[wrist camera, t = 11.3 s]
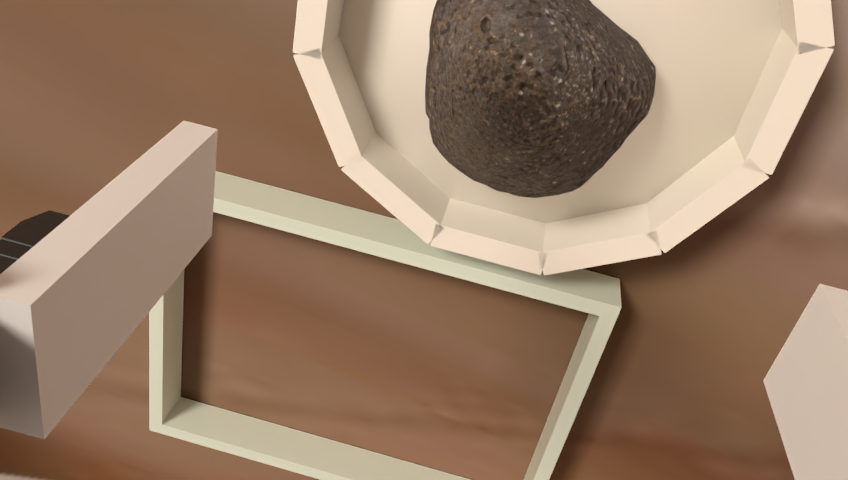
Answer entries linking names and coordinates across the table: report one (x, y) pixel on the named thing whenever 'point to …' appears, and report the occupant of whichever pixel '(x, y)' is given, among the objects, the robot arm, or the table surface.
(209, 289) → the table surface
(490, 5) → the stone
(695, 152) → the bowl
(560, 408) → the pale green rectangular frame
